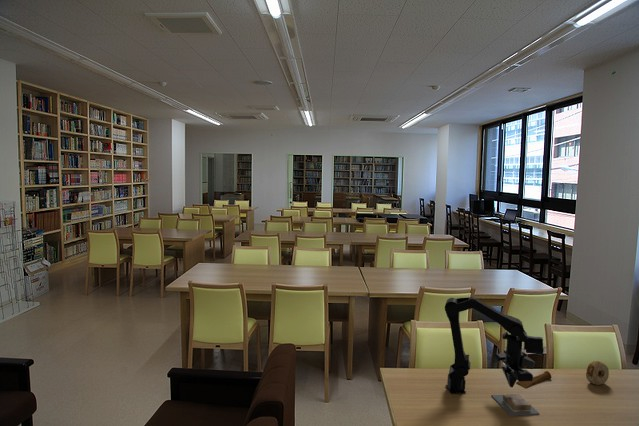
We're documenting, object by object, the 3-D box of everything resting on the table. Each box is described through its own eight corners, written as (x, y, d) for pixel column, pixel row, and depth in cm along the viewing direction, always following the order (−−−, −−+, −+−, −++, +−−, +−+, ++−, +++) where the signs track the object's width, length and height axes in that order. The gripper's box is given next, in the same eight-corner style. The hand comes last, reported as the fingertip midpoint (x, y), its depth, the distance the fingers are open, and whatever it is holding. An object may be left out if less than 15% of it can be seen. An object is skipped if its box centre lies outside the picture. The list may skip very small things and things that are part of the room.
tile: (502, 400, 169) (513, 411, 161) (503, 394, 168) (514, 405, 160) (518, 399, 169) (530, 410, 161) (519, 393, 169) (531, 404, 161)
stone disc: (591, 386, 182) (592, 365, 181) (583, 382, 186) (585, 361, 185) (609, 384, 185) (611, 363, 184) (602, 380, 188) (604, 359, 188)
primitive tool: (525, 389, 179) (526, 382, 179) (514, 384, 184) (514, 376, 184) (552, 380, 189) (552, 372, 188) (541, 375, 193) (541, 367, 193)
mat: (510, 415, 159) (510, 414, 159) (491, 396, 173) (491, 395, 172) (539, 414, 160) (539, 413, 160) (518, 395, 174) (518, 394, 174)
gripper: (547, 360, 159) (544, 398, 160) (519, 340, 177) (516, 375, 179) (520, 360, 158) (517, 399, 159) (494, 341, 176) (492, 376, 178)
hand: (511, 386), depth 169 cm, fingers closed
